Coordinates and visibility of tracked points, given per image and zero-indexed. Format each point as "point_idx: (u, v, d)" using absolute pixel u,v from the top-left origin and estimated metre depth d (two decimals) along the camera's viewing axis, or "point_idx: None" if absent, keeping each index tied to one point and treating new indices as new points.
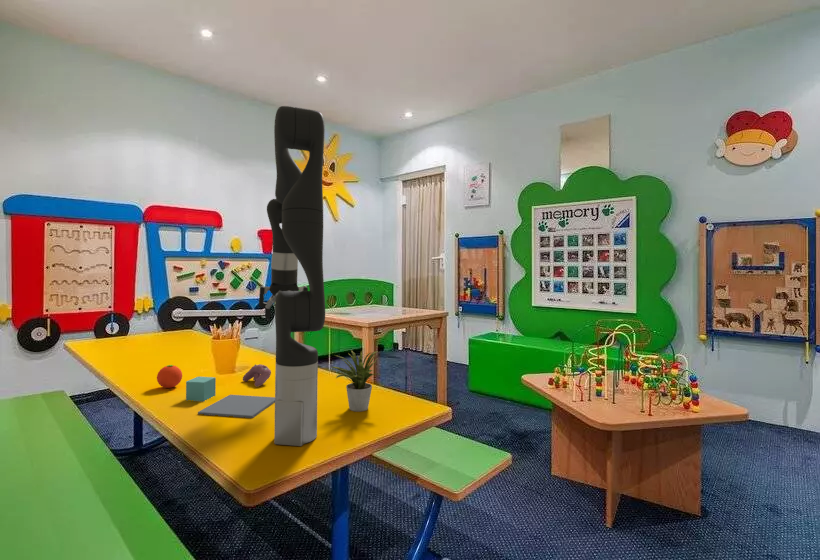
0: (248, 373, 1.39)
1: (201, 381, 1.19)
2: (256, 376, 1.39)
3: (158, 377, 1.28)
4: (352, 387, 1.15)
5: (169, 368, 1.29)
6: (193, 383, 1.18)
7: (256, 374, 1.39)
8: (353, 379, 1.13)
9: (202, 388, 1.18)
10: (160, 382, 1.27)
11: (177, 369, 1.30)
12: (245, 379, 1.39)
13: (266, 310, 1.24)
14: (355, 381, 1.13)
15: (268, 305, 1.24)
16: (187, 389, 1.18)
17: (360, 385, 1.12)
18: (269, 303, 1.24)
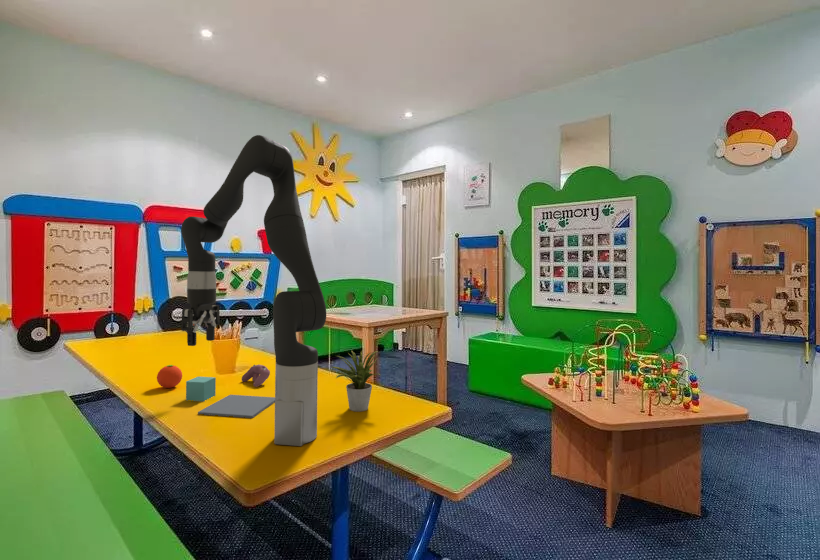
0: (247, 373, 1.39)
1: (201, 381, 1.19)
2: (255, 376, 1.39)
3: (158, 377, 1.28)
4: (352, 387, 1.15)
5: (169, 368, 1.29)
6: (193, 383, 1.18)
7: (255, 374, 1.39)
8: (353, 379, 1.13)
9: (202, 388, 1.18)
10: (160, 382, 1.27)
11: (177, 369, 1.30)
12: (244, 379, 1.38)
13: (192, 334, 1.15)
14: (355, 381, 1.13)
15: (195, 328, 1.16)
16: (187, 389, 1.18)
17: (360, 385, 1.12)
18: (196, 326, 1.16)
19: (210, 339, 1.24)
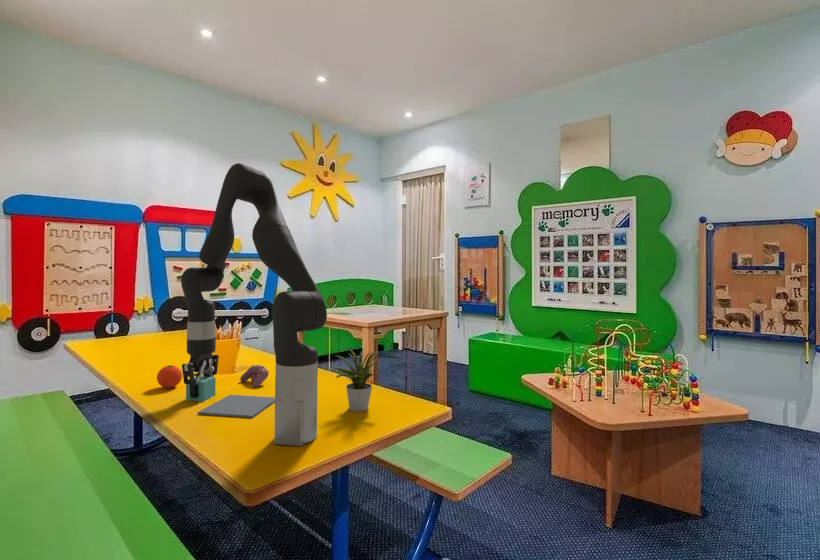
0: (246, 374, 1.39)
1: (201, 381, 1.19)
2: (254, 377, 1.38)
3: (158, 377, 1.28)
4: (352, 387, 1.15)
5: (169, 368, 1.29)
6: None
7: (254, 374, 1.39)
8: (353, 379, 1.13)
9: (202, 388, 1.18)
10: (160, 382, 1.27)
11: (177, 369, 1.30)
12: (242, 380, 1.38)
13: (195, 387, 1.17)
14: (355, 381, 1.13)
15: (197, 381, 1.17)
16: (187, 389, 1.18)
17: (360, 385, 1.12)
18: (198, 378, 1.18)
19: None
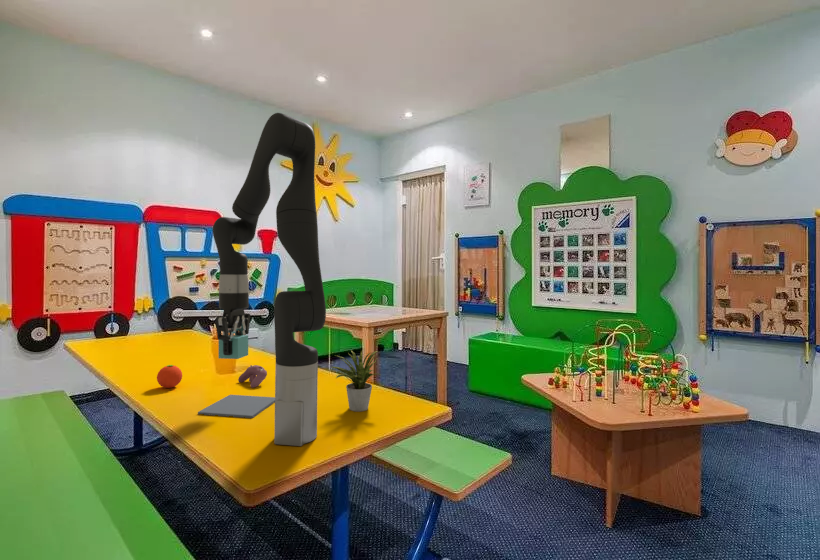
0: (244, 374, 1.38)
1: (234, 337, 1.12)
2: (252, 377, 1.38)
3: (158, 377, 1.28)
4: (352, 387, 1.15)
5: (169, 368, 1.29)
6: None
7: (252, 375, 1.38)
8: (353, 379, 1.13)
9: (236, 344, 1.11)
10: (160, 382, 1.27)
11: (177, 369, 1.30)
12: (241, 380, 1.37)
13: (229, 343, 1.10)
14: (355, 381, 1.13)
15: (231, 337, 1.11)
16: (220, 346, 1.12)
17: (360, 385, 1.12)
18: (231, 334, 1.11)
19: None
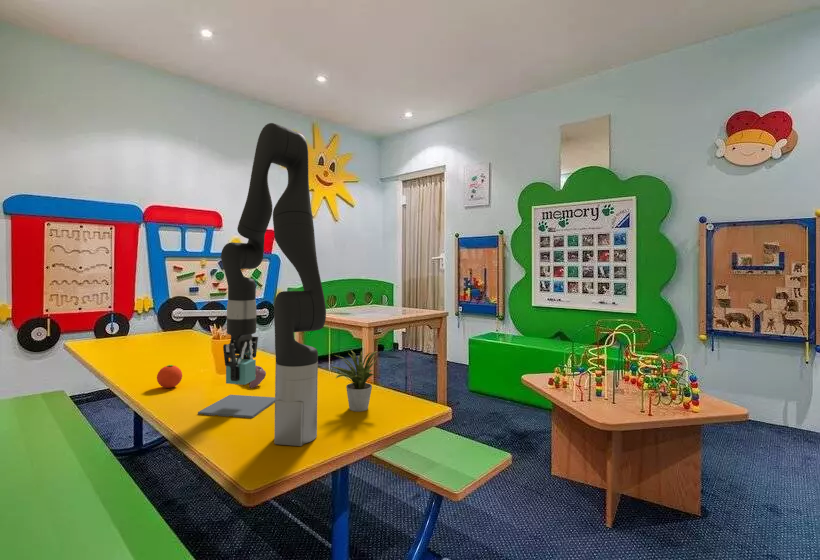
0: None
1: (242, 363, 1.12)
2: None
3: (158, 377, 1.28)
4: (352, 387, 1.15)
5: (169, 368, 1.29)
6: None
7: None
8: (353, 379, 1.13)
9: (243, 370, 1.11)
10: (160, 382, 1.27)
11: (177, 369, 1.30)
12: None
13: (236, 369, 1.10)
14: (355, 381, 1.13)
15: (238, 363, 1.11)
16: (227, 371, 1.12)
17: (360, 385, 1.12)
18: (239, 360, 1.11)
19: None
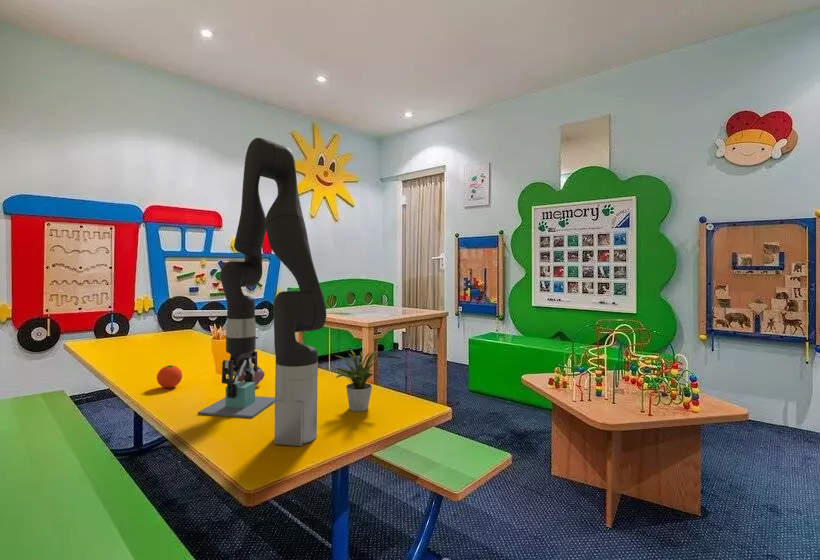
0: (241, 374, 1.37)
1: (241, 386, 1.12)
2: None
3: (158, 377, 1.28)
4: (352, 387, 1.15)
5: (169, 368, 1.29)
6: None
7: None
8: (353, 379, 1.13)
9: (242, 394, 1.11)
10: (160, 382, 1.27)
11: (177, 369, 1.30)
12: None
13: (233, 387, 1.09)
14: (355, 381, 1.13)
15: (236, 380, 1.09)
16: None
17: (360, 385, 1.12)
18: (236, 377, 1.10)
19: None
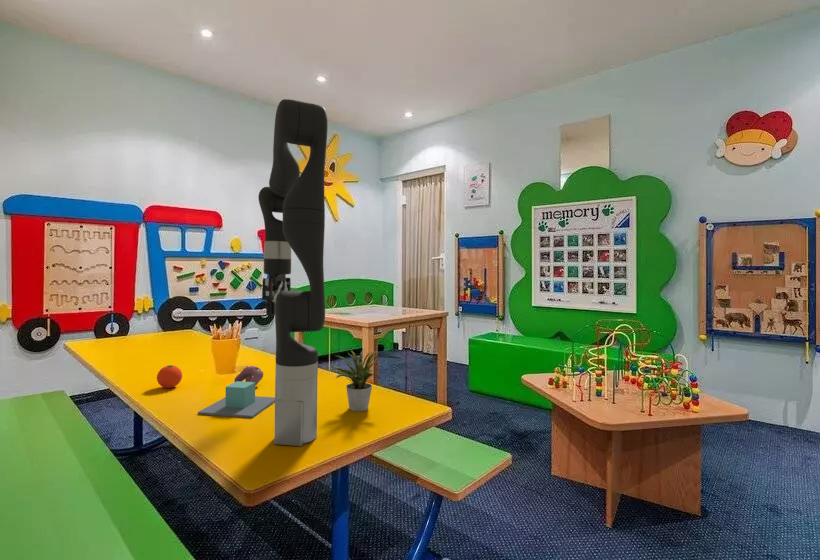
0: (240, 375, 1.37)
1: (241, 386, 1.12)
2: (248, 378, 1.37)
3: (158, 377, 1.28)
4: (352, 387, 1.15)
5: (169, 368, 1.29)
6: (233, 388, 1.11)
7: (248, 376, 1.37)
8: (353, 379, 1.13)
9: (242, 394, 1.11)
10: (160, 382, 1.27)
11: (177, 369, 1.30)
12: None
13: (272, 304, 1.15)
14: (355, 381, 1.13)
15: (274, 298, 1.15)
16: (227, 395, 1.12)
17: (360, 385, 1.12)
18: (275, 296, 1.15)
19: None
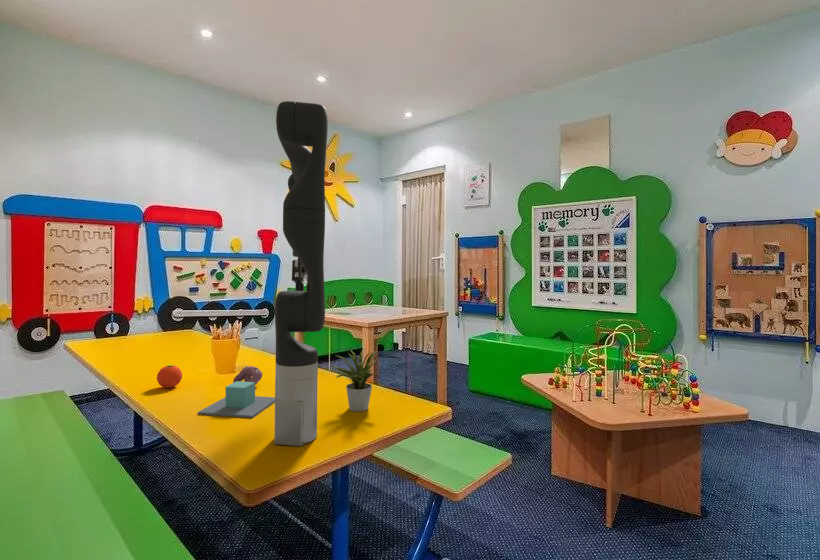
0: (239, 375, 1.37)
1: (241, 386, 1.12)
2: (247, 378, 1.36)
3: (158, 377, 1.28)
4: (352, 387, 1.15)
5: (169, 368, 1.29)
6: (233, 388, 1.11)
7: (247, 376, 1.37)
8: (353, 379, 1.13)
9: (242, 394, 1.11)
10: (160, 382, 1.27)
11: (177, 369, 1.30)
12: None
13: (301, 285, 1.19)
14: (355, 381, 1.13)
15: (303, 279, 1.20)
16: (227, 395, 1.12)
17: (360, 385, 1.12)
18: (303, 277, 1.20)
19: None
